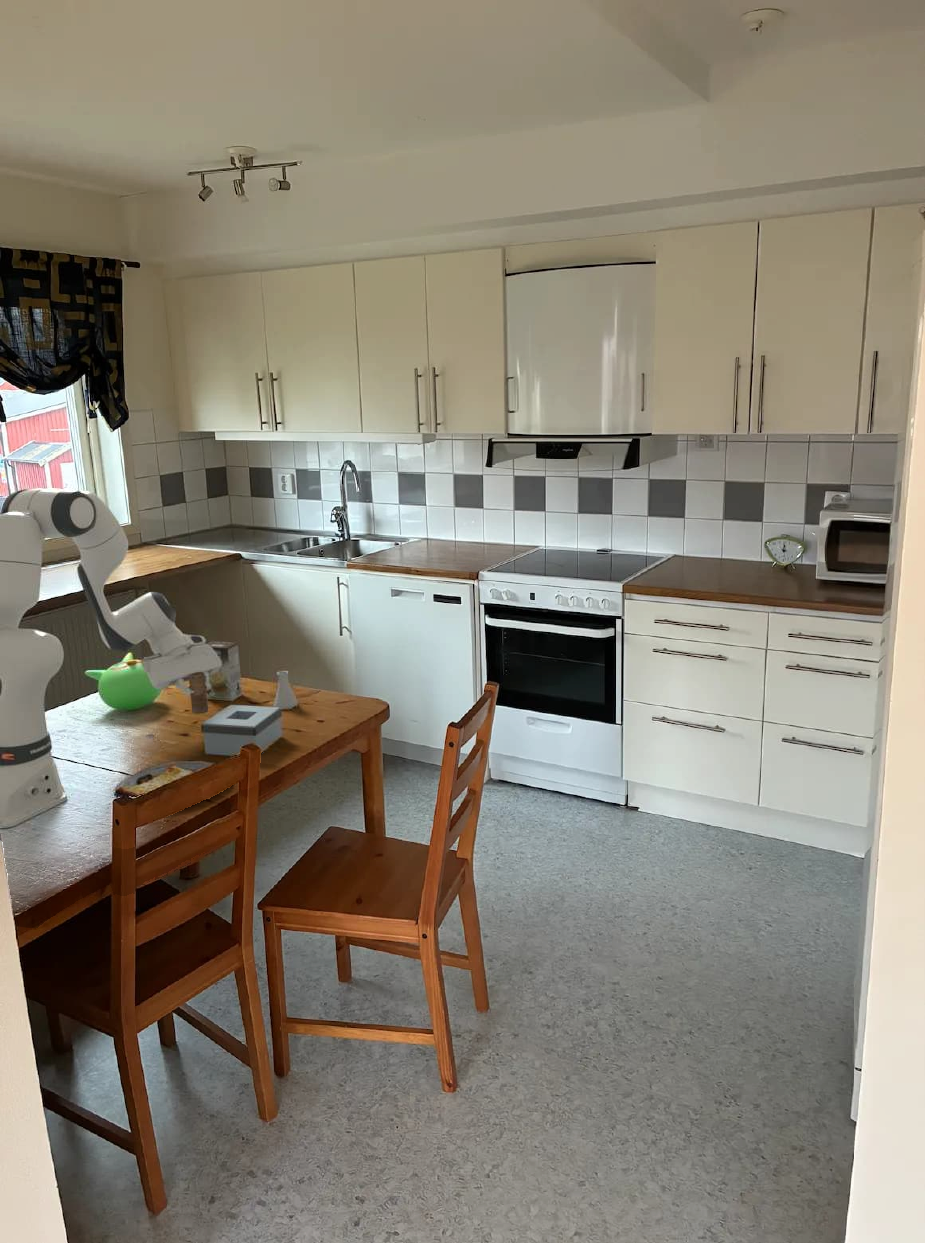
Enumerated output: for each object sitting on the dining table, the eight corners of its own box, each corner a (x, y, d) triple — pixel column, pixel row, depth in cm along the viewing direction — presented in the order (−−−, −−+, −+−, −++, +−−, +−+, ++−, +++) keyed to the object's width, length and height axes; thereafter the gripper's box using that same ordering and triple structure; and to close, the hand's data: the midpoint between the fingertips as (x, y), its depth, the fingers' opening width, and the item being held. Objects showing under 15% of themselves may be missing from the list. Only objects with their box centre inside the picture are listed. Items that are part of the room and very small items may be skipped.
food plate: (168, 821, 196) (166, 806, 195) (92, 802, 207) (90, 787, 206) (250, 780, 217) (249, 766, 216) (178, 765, 228) (176, 751, 228)
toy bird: (126, 721, 258) (119, 670, 255) (86, 712, 267) (80, 663, 264) (177, 702, 273) (171, 653, 270) (138, 694, 282) (132, 647, 278)
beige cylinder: (203, 714, 243) (199, 676, 240) (189, 713, 244) (185, 676, 241) (211, 709, 246) (207, 672, 244) (197, 708, 247) (193, 671, 245)
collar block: (257, 757, 229) (254, 726, 227) (204, 754, 233) (200, 723, 231) (283, 736, 242) (281, 707, 240) (232, 733, 246) (229, 704, 244)
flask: (292, 711, 262) (290, 676, 260) (268, 710, 264) (265, 675, 261) (302, 702, 269) (299, 669, 267) (278, 701, 270) (275, 668, 268)
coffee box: (204, 699, 275) (198, 646, 271) (216, 692, 281) (211, 640, 277) (232, 701, 272) (226, 647, 268) (243, 694, 278) (238, 642, 274)
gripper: (142, 651, 237) (170, 695, 234) (208, 634, 253) (235, 675, 249) (134, 666, 241) (161, 709, 237) (199, 649, 257) (226, 688, 253)
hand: (199, 691), depth 243 cm, fingers closed on beige cylinder, 4 cm apart
